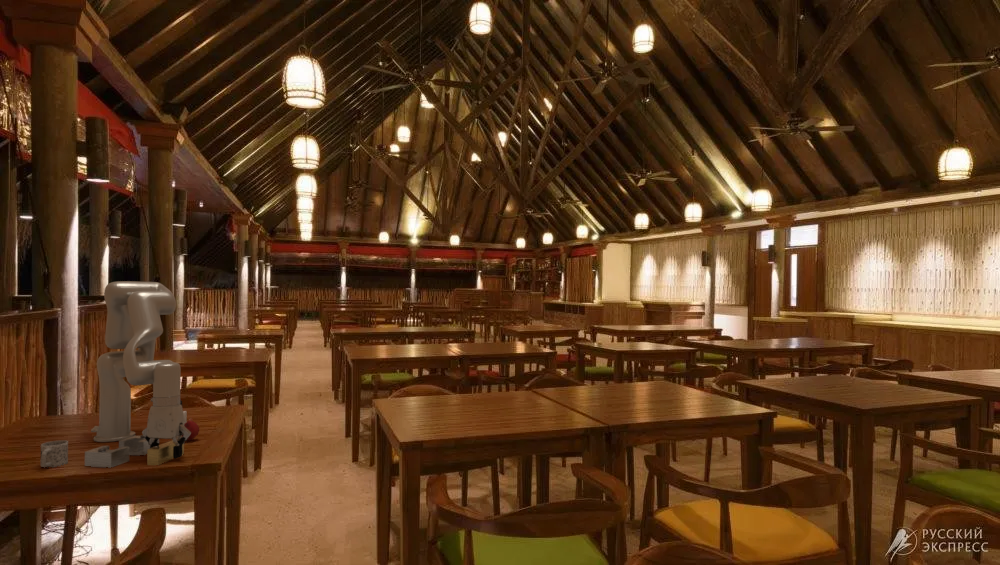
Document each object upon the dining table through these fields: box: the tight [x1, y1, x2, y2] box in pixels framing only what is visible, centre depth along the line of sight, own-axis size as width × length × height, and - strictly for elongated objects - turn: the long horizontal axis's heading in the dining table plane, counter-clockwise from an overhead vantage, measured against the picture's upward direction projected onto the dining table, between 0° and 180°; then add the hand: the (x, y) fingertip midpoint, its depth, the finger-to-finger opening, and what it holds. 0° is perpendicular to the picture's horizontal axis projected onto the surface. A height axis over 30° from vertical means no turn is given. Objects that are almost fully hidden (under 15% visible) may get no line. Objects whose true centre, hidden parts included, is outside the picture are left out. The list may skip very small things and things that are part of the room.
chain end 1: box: [84, 445, 130, 469], centre depth 177 cm, size 9×7×5 cm
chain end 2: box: [118, 434, 160, 456], centre depth 189 cm, size 9×7×5 cm
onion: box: [181, 418, 200, 442], centre depth 204 cm, size 6×6×8 cm
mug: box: [40, 439, 69, 469], centre depth 174 cm, size 10×7×7 cm, turn 13°
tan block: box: [146, 438, 185, 466], centre depth 181 cm, size 4×12×6 cm, turn 173°
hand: (166, 456), depth 181 cm, fingers open, 7 cm apart
